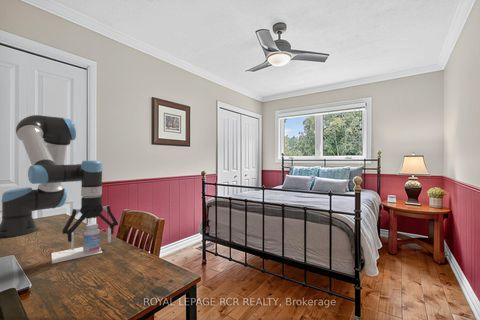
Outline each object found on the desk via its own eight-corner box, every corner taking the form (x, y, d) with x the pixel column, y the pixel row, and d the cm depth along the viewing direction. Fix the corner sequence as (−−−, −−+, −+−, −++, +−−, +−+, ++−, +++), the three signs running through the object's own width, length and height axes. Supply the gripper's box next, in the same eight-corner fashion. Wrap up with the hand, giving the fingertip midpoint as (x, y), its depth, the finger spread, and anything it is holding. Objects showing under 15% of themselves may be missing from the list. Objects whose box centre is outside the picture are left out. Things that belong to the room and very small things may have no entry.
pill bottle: (92, 254, 99) (92, 227, 99) (79, 252, 100) (79, 226, 100) (103, 248, 105) (103, 223, 105) (91, 247, 106) (91, 222, 106)
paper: (51, 253, 100) (51, 252, 100) (97, 244, 111) (97, 243, 111) (52, 263, 90) (52, 263, 90) (102, 252, 101) (102, 252, 101)
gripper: (55, 200, 91) (55, 255, 91) (125, 194, 107) (125, 241, 107) (54, 198, 97) (54, 249, 97) (121, 192, 113) (121, 236, 113)
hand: (91, 245), depth 102 cm, fingers open, 13 cm apart
